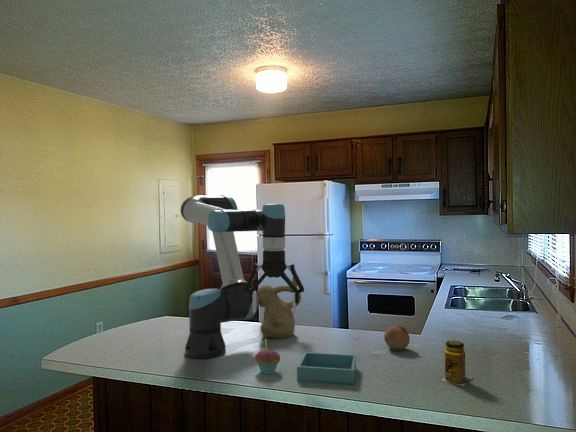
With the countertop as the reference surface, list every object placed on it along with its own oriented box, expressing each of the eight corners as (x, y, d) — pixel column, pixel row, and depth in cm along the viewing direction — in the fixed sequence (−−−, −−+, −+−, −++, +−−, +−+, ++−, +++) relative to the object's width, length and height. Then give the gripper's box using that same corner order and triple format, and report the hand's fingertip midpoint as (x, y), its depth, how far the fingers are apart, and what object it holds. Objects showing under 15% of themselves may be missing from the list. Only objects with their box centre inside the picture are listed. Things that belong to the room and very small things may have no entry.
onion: (406, 356, 174) (418, 334, 173) (394, 355, 167) (407, 332, 166) (387, 342, 180) (399, 320, 179) (375, 341, 174) (387, 318, 173)
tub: (297, 380, 142) (297, 366, 142) (304, 365, 156) (304, 352, 156) (353, 384, 139) (353, 370, 139) (356, 368, 153) (356, 355, 153)
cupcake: (277, 377, 146) (276, 340, 145) (251, 375, 147) (251, 338, 147) (282, 367, 154) (282, 332, 154) (258, 366, 156) (258, 331, 155)
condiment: (439, 381, 141) (439, 343, 141) (449, 373, 148) (450, 337, 148) (463, 386, 137) (463, 347, 137) (472, 378, 143) (472, 341, 143)
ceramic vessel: (257, 329, 203) (257, 274, 202) (301, 329, 202) (301, 274, 202) (253, 340, 186) (253, 280, 185) (301, 340, 185) (301, 280, 185)
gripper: (235, 250, 150) (235, 314, 150) (310, 251, 147) (310, 315, 147) (239, 248, 157) (240, 309, 158) (311, 248, 154) (311, 310, 155)
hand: (274, 312), depth 152 cm, fingers open, 13 cm apart
